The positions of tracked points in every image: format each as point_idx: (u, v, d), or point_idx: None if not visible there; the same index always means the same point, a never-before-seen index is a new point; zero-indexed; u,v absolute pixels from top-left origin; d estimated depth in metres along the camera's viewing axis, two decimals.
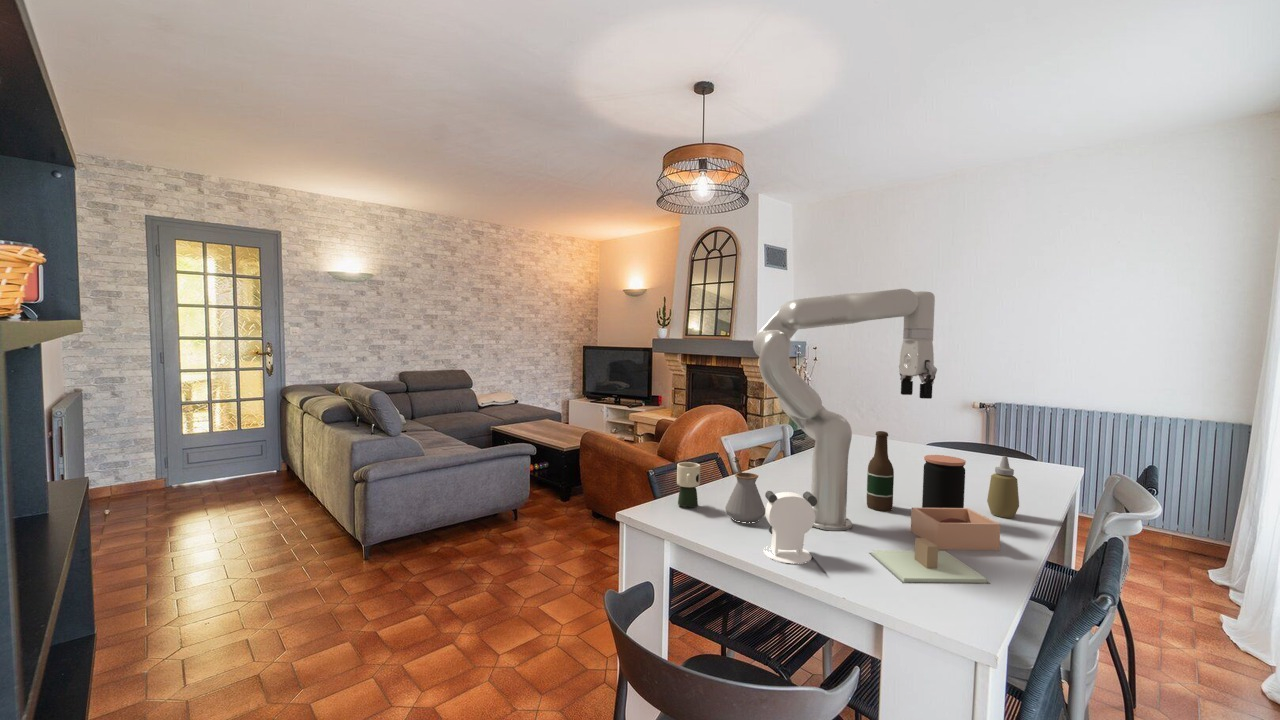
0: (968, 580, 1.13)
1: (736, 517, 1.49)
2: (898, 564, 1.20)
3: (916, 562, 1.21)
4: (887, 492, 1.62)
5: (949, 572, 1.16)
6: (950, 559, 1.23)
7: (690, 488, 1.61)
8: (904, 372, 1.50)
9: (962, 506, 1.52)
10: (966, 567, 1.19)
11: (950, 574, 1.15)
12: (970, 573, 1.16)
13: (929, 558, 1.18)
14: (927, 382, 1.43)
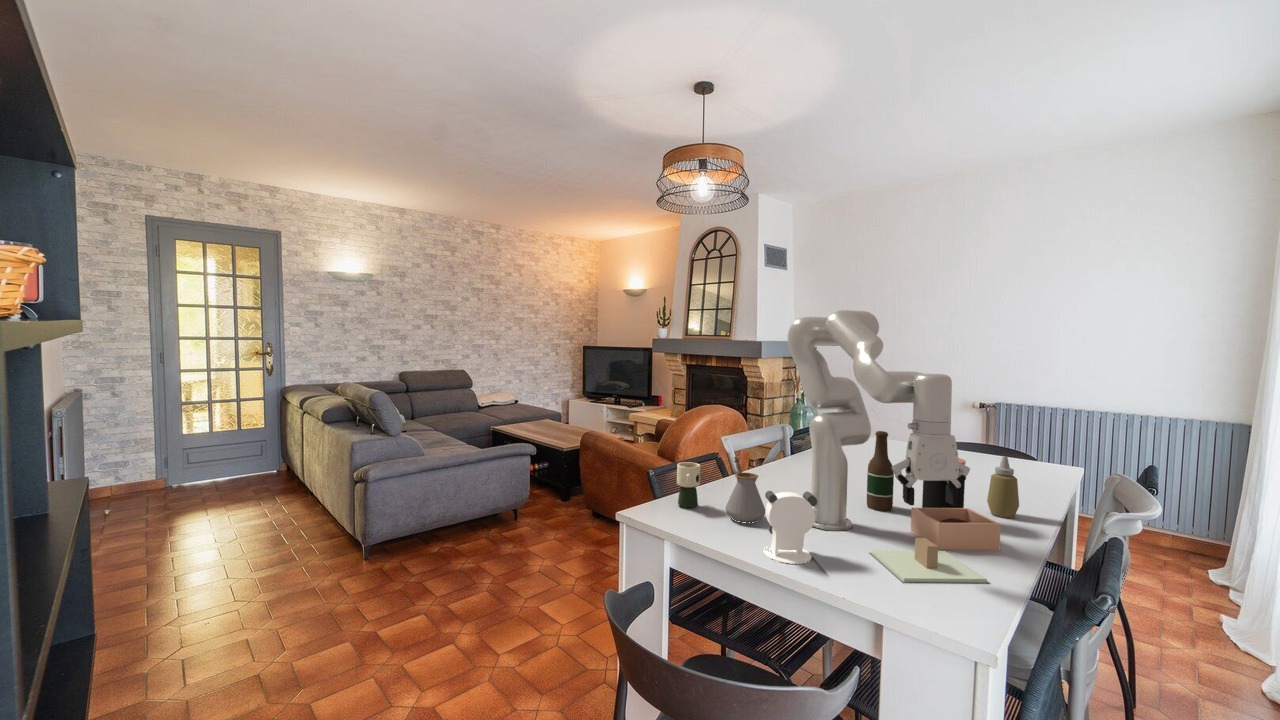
0: (968, 580, 1.13)
1: (736, 517, 1.49)
2: (898, 564, 1.20)
3: (916, 562, 1.21)
4: (887, 492, 1.62)
5: (949, 572, 1.16)
6: (950, 559, 1.23)
7: (690, 488, 1.61)
8: (932, 477, 1.16)
9: (962, 506, 1.52)
10: (966, 567, 1.19)
11: (950, 574, 1.15)
12: (970, 573, 1.16)
13: (929, 558, 1.18)
14: None
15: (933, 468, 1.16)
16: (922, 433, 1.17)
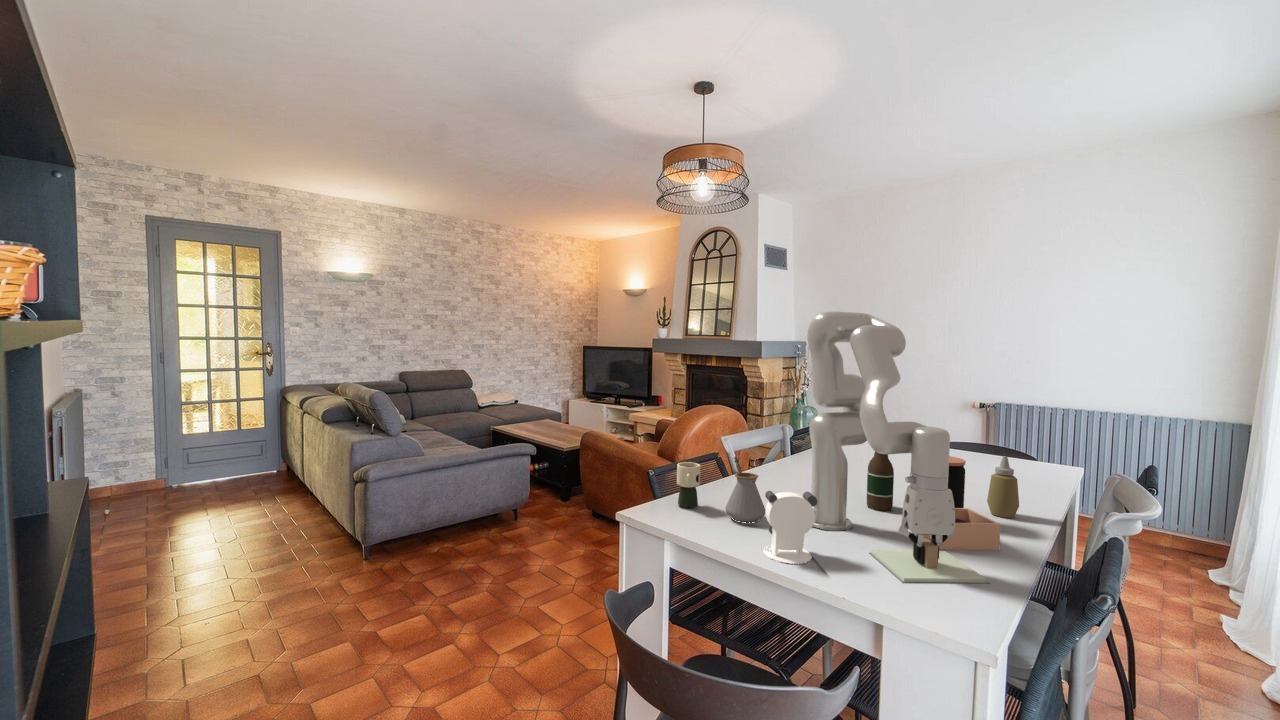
0: (968, 580, 1.13)
1: (736, 517, 1.49)
2: (898, 564, 1.20)
3: (916, 562, 1.21)
4: (887, 492, 1.62)
5: (949, 572, 1.16)
6: (950, 559, 1.23)
7: (690, 488, 1.61)
8: (928, 531, 1.17)
9: (962, 506, 1.52)
10: (966, 567, 1.19)
11: (950, 574, 1.15)
12: (970, 573, 1.16)
13: (929, 558, 1.18)
14: None
15: (930, 523, 1.17)
16: (919, 488, 1.18)
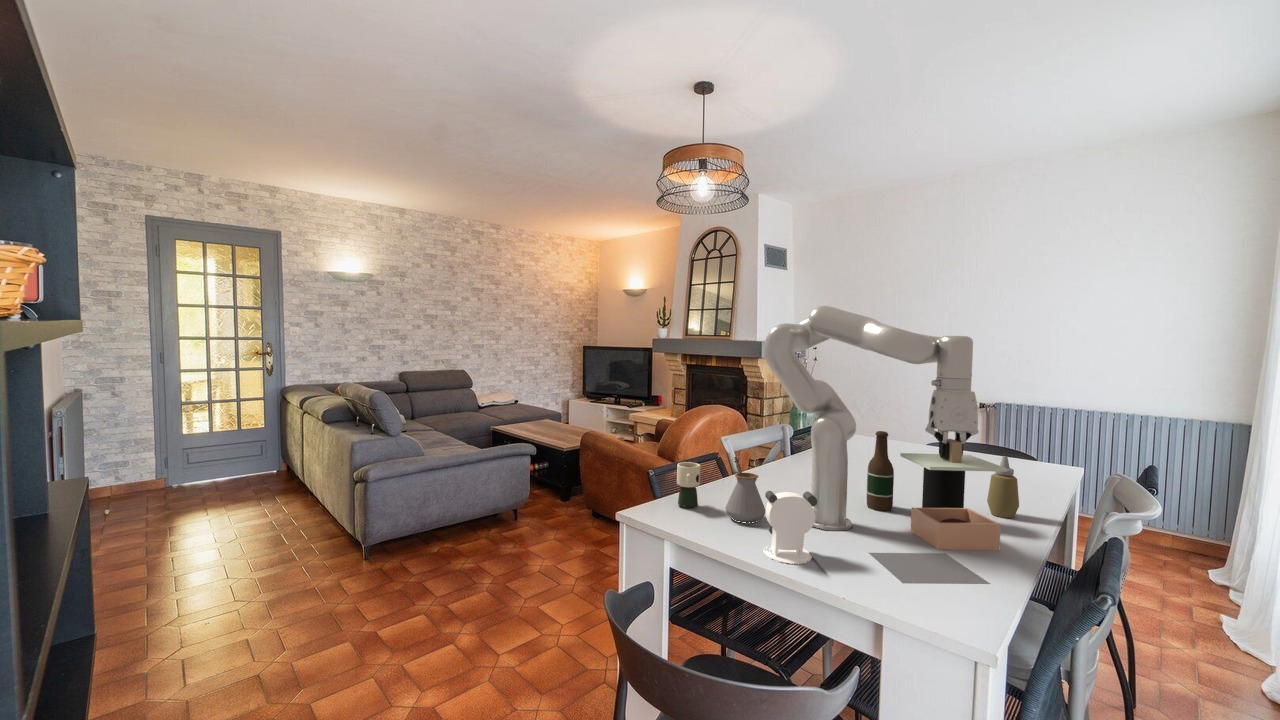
0: (990, 470, 1.25)
1: (736, 517, 1.49)
2: (925, 460, 1.32)
3: (942, 459, 1.33)
4: (887, 492, 1.62)
5: (972, 464, 1.28)
6: (974, 458, 1.35)
7: (690, 488, 1.61)
8: (953, 428, 1.29)
9: (962, 506, 1.52)
10: (988, 462, 1.30)
11: (973, 465, 1.27)
12: (992, 465, 1.27)
13: (953, 453, 1.30)
14: None
15: (954, 420, 1.29)
16: (944, 389, 1.30)
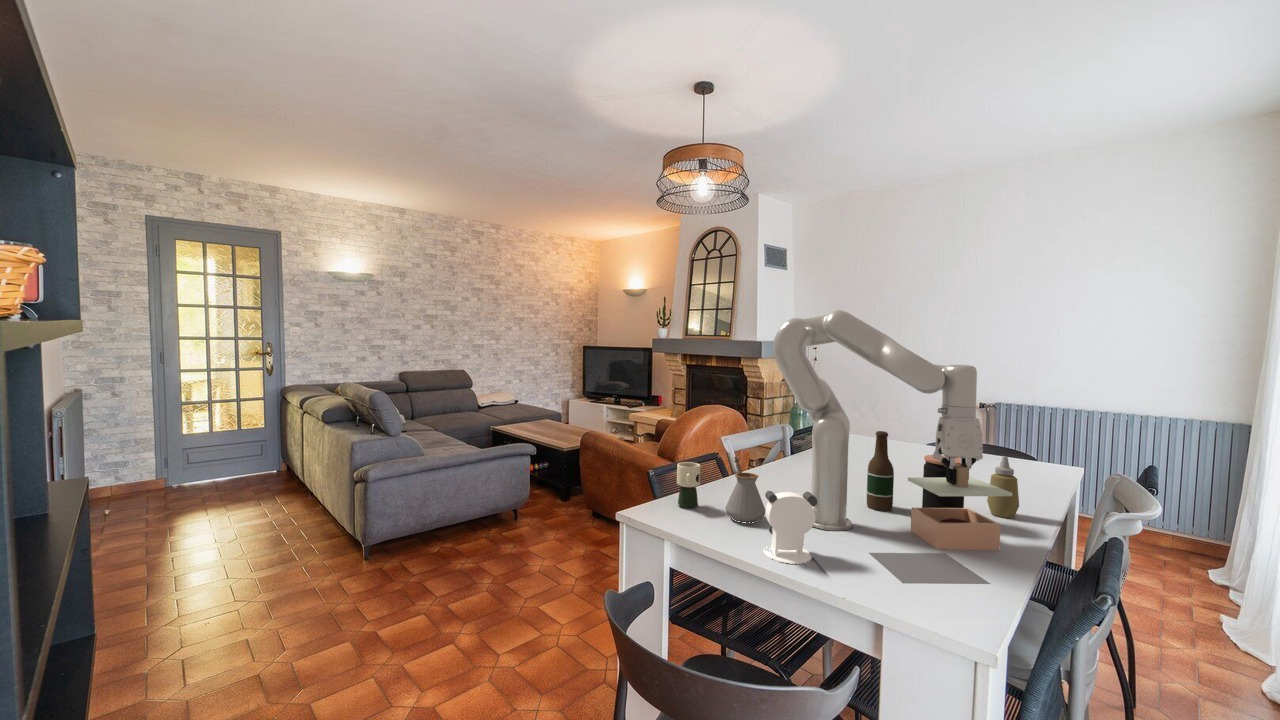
0: (996, 494, 1.30)
1: (736, 517, 1.49)
2: (933, 485, 1.36)
3: (949, 484, 1.38)
4: (887, 492, 1.62)
5: (979, 489, 1.33)
6: (978, 482, 1.40)
7: (690, 488, 1.61)
8: (959, 454, 1.34)
9: (962, 506, 1.52)
10: (993, 486, 1.35)
11: (979, 490, 1.32)
12: (997, 490, 1.32)
13: (960, 478, 1.34)
14: None
15: (960, 447, 1.34)
16: (951, 416, 1.35)
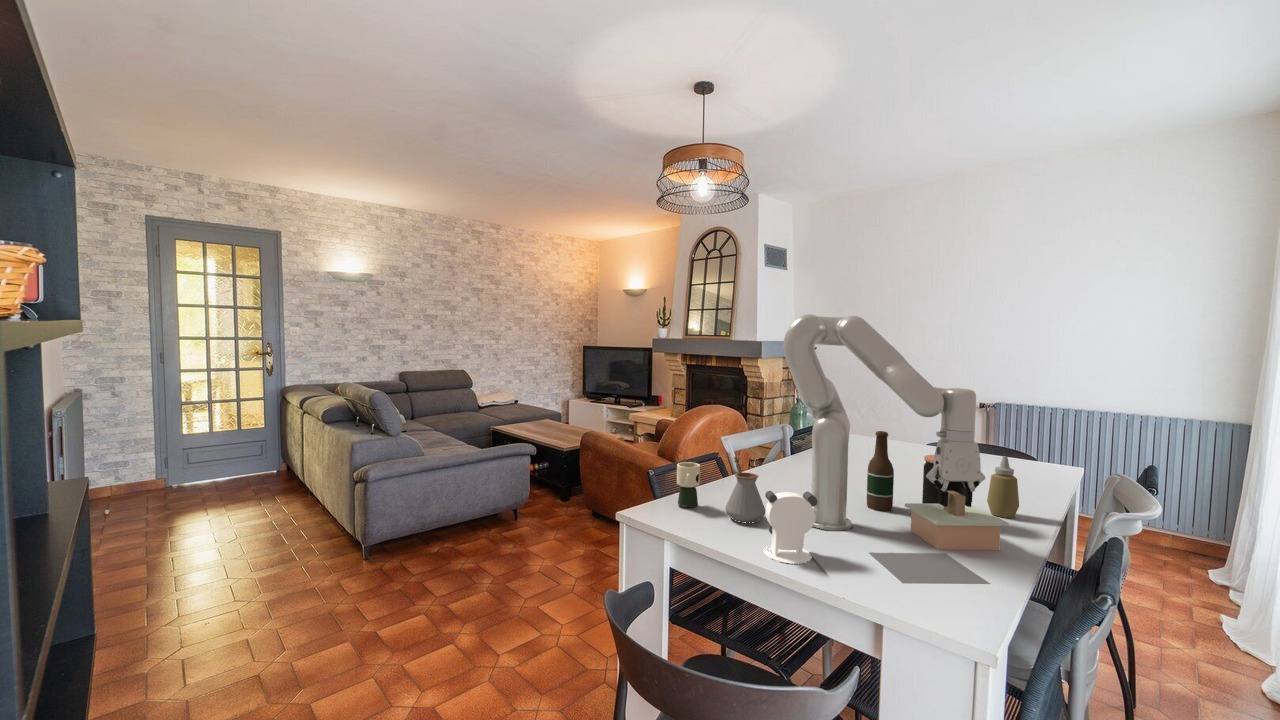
0: (993, 524, 1.30)
1: (736, 517, 1.49)
2: (930, 512, 1.37)
3: (945, 511, 1.38)
4: (887, 492, 1.62)
5: (975, 518, 1.33)
6: (975, 509, 1.40)
7: (690, 488, 1.61)
8: (957, 478, 1.34)
9: None
10: (989, 515, 1.36)
11: (976, 519, 1.32)
12: (994, 519, 1.33)
13: (957, 506, 1.35)
14: None
15: (958, 471, 1.34)
16: (949, 440, 1.35)
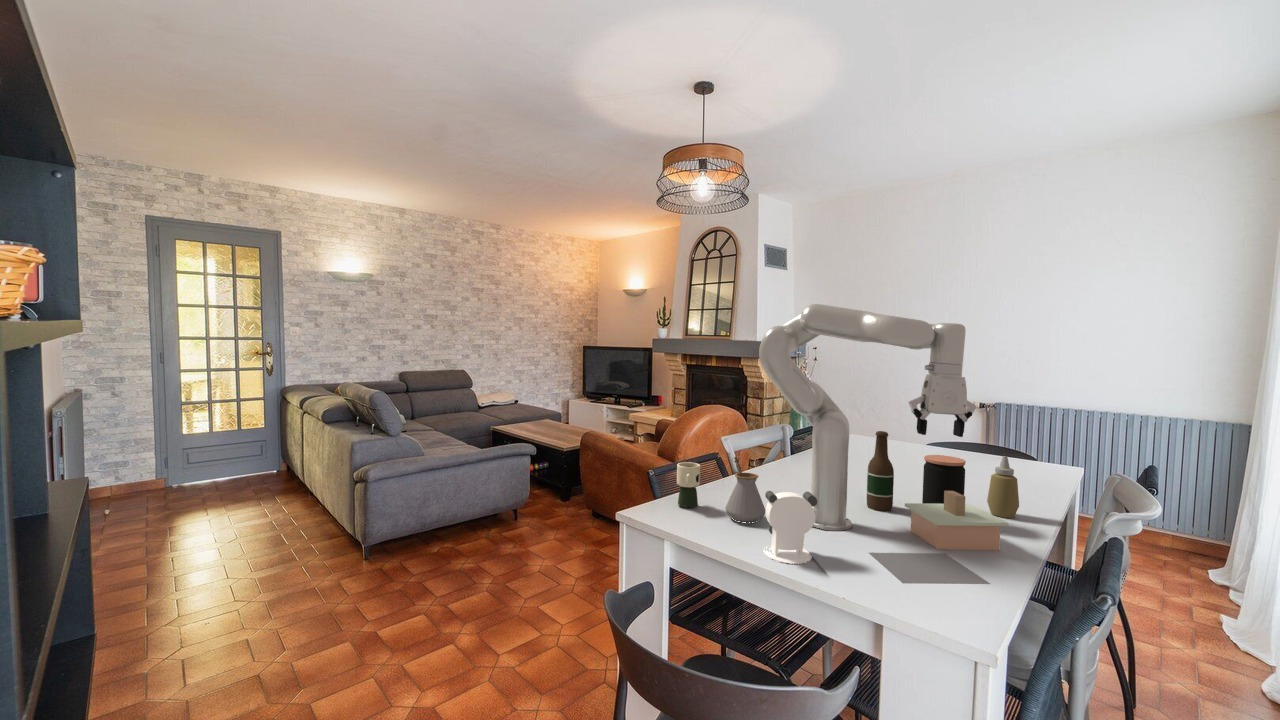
0: (993, 524, 1.30)
1: (736, 517, 1.49)
2: (930, 512, 1.37)
3: (945, 511, 1.38)
4: (887, 492, 1.62)
5: (975, 518, 1.33)
6: (975, 509, 1.40)
7: (690, 488, 1.61)
8: (943, 411, 1.36)
9: None
10: (989, 515, 1.36)
11: (976, 519, 1.32)
12: (994, 519, 1.33)
13: (957, 506, 1.35)
14: None
15: (944, 403, 1.36)
16: (937, 373, 1.36)
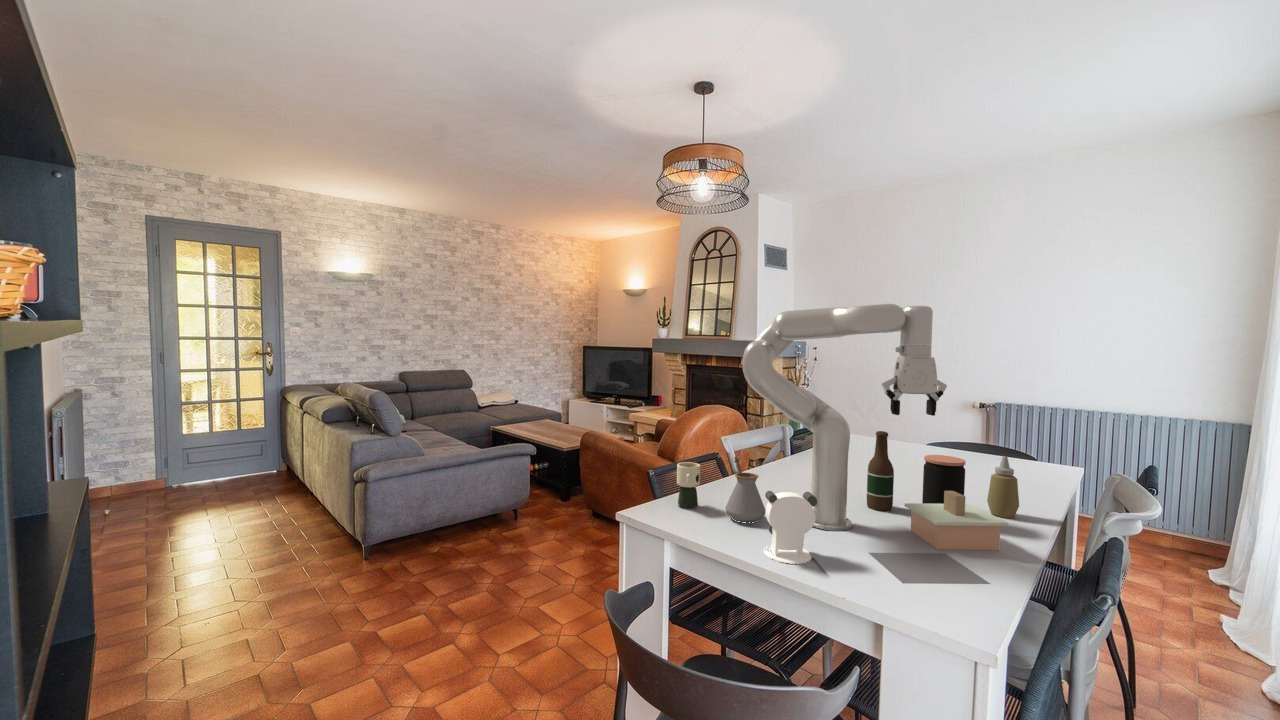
0: (993, 524, 1.30)
1: (736, 517, 1.49)
2: (930, 512, 1.37)
3: (945, 511, 1.38)
4: (887, 492, 1.62)
5: (975, 518, 1.33)
6: (975, 509, 1.40)
7: (690, 488, 1.61)
8: (914, 391, 1.40)
9: None
10: (989, 515, 1.36)
11: (976, 519, 1.32)
12: (994, 519, 1.33)
13: (957, 506, 1.35)
14: None
15: (916, 383, 1.40)
16: (907, 354, 1.41)
